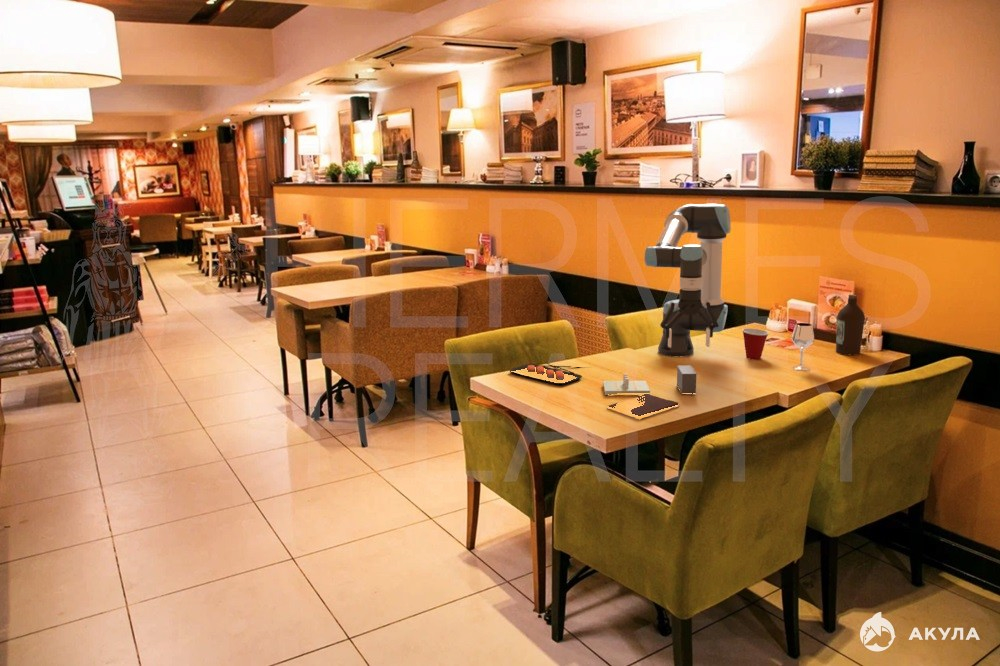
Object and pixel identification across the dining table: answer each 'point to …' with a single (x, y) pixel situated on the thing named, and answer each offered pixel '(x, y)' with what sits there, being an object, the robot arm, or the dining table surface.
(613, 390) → the board
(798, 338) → the wineglass
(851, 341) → the olive oil
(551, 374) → the sushi plate
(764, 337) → the plastic cup
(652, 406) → the notebook
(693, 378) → the block
